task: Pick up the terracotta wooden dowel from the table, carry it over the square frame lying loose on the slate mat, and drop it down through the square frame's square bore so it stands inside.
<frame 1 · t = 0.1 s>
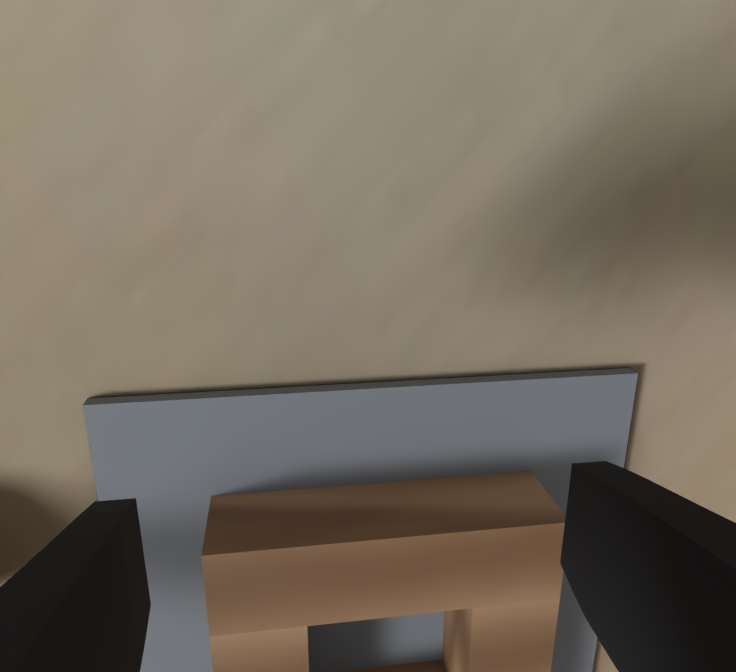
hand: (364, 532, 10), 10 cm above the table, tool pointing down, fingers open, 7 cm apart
square frame: (375, 612, 23), resting on mat
mat: (373, 603, 23), on the table
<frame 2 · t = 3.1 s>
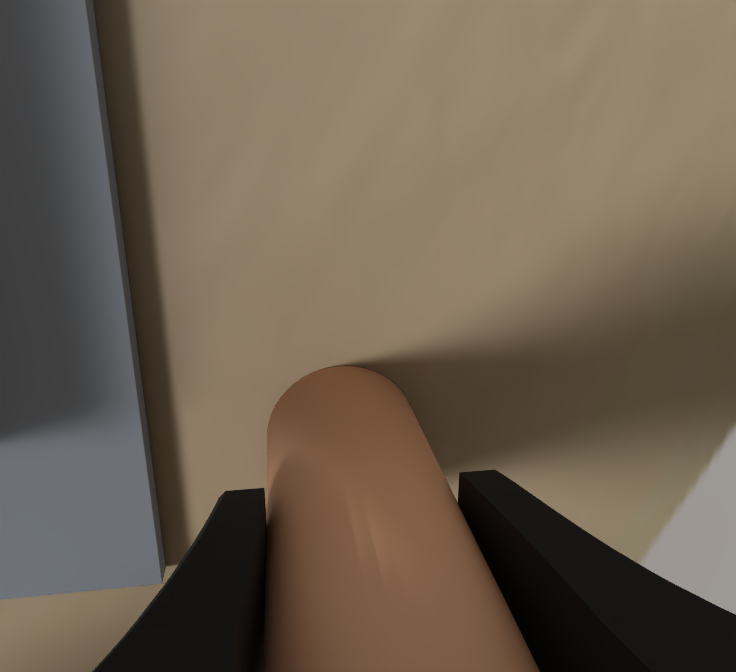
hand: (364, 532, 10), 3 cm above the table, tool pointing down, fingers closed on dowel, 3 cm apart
dowel: (342, 434, 13), on the table, touching gripper
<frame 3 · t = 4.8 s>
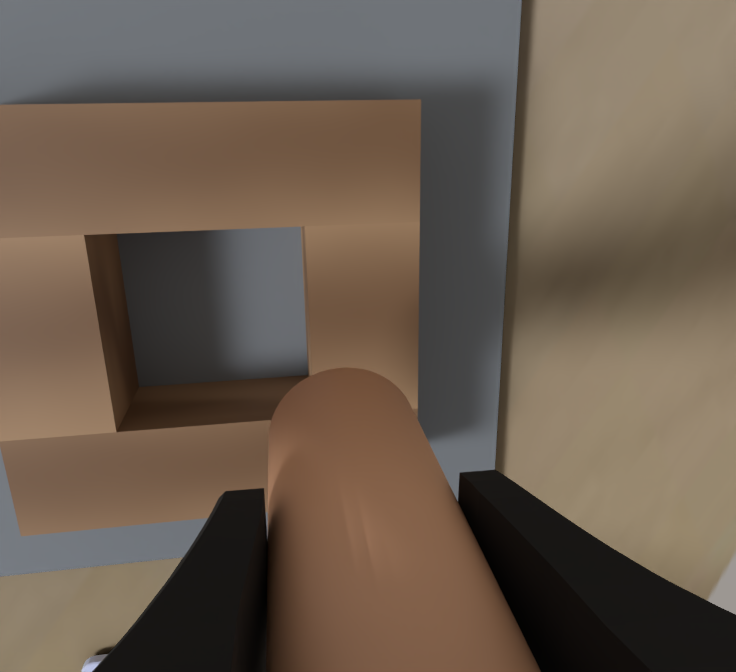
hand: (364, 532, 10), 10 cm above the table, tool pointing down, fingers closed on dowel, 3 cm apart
square frame: (217, 301, 19), resting on mat
dowel: (343, 436, 13), point 7 cm above the table, touching gripper
mat: (218, 296, 19), on the table
when the fingers open (5 cm above the table, at t = 6.7 s): dowel drops 1 cm, resting on mat.
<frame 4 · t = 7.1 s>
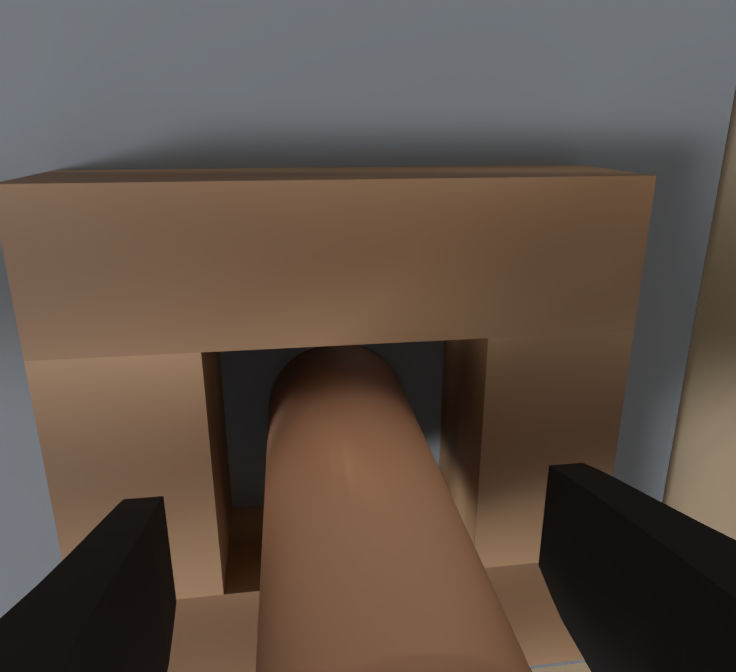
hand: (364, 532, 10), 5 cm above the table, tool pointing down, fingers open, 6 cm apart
square frame: (335, 405, 15), resting on mat
dowel: (336, 406, 15), point 1 cm above the table, touching mat
mat: (333, 397, 15), on the table
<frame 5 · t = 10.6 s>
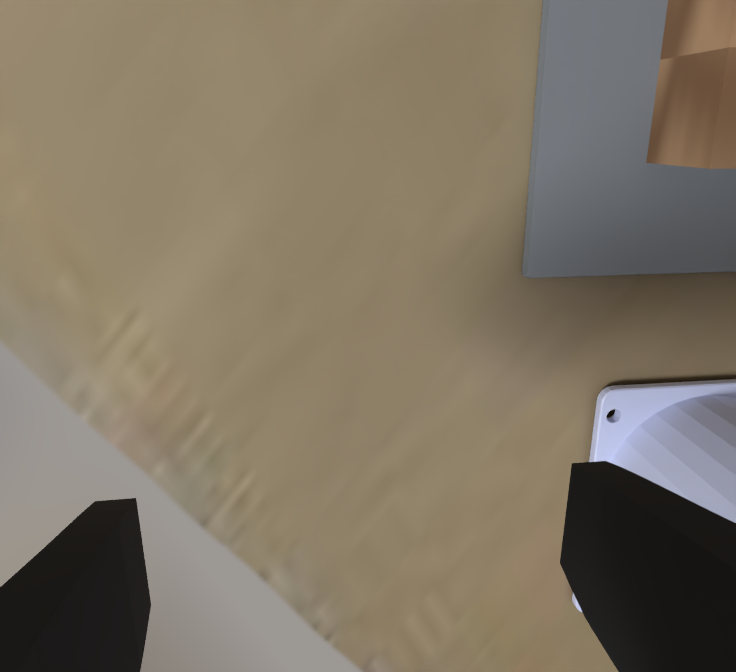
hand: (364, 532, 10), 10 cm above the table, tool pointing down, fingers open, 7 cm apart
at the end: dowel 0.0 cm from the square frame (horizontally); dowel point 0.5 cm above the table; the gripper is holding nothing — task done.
